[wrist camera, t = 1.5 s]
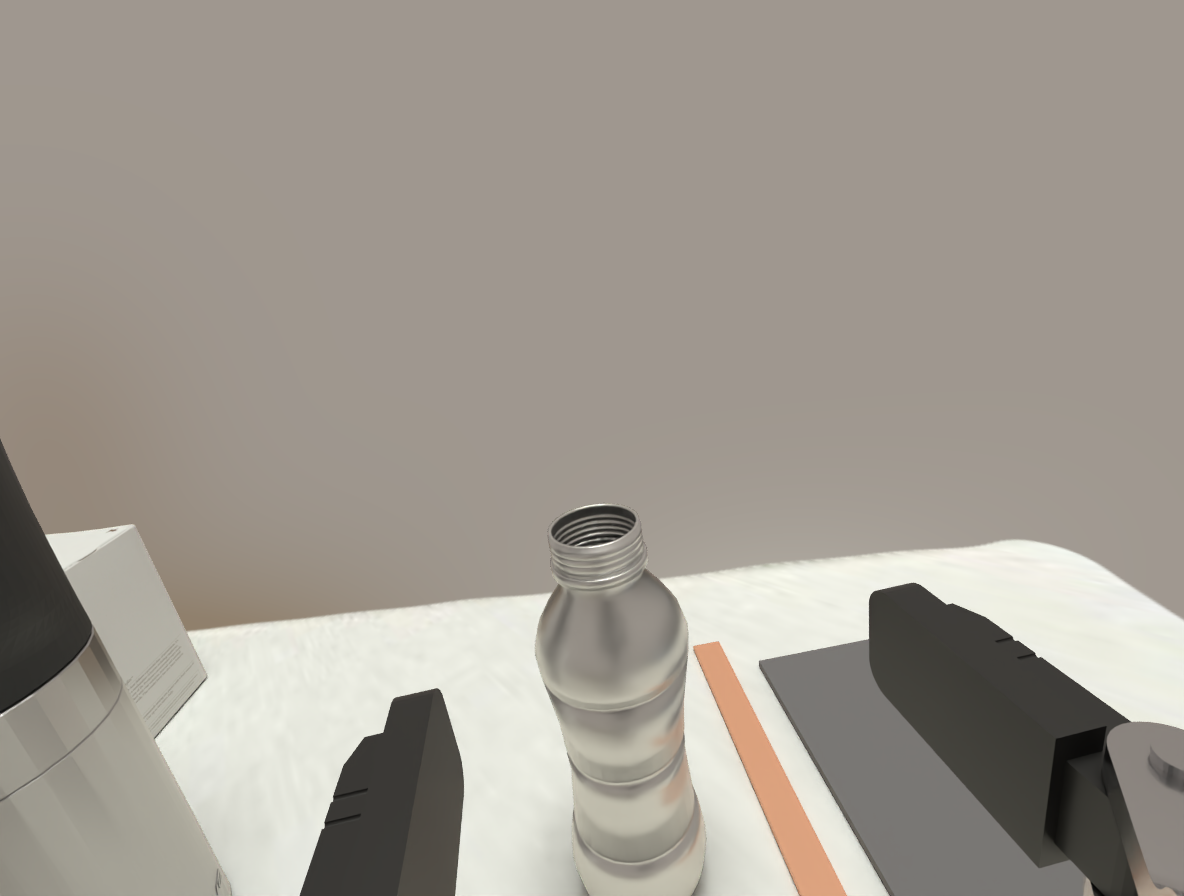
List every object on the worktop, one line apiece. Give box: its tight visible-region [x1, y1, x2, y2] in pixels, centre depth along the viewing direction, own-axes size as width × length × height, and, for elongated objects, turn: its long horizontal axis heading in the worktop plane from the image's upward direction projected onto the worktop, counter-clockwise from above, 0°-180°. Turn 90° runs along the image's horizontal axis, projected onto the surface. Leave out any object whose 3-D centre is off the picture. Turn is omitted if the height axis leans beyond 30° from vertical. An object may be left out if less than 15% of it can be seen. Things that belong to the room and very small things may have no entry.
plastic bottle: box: [535, 503, 707, 896], centre depth 25 cm, size 6×7×20 cm
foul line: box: [693, 641, 847, 896], centre depth 32 cm, size 2×24×1 cm, turn 7°
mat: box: [759, 639, 1084, 896], centre depth 33 cm, size 10×18×1 cm, turn 7°
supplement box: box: [45, 525, 207, 738], centre depth 42 cm, size 9×9×15 cm
